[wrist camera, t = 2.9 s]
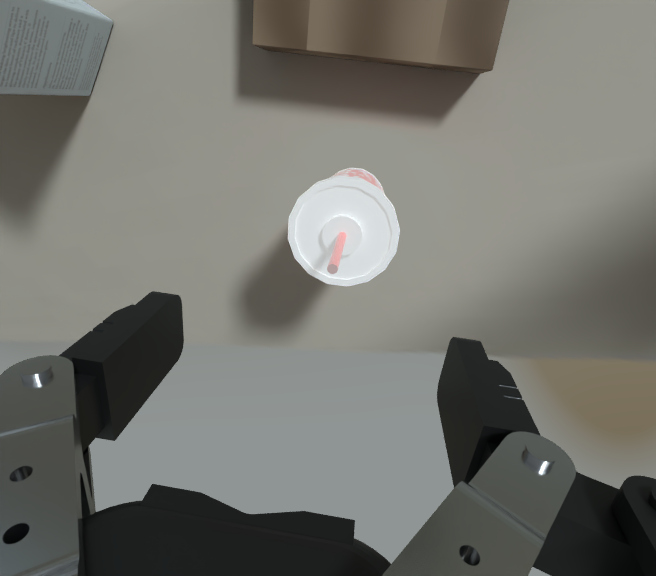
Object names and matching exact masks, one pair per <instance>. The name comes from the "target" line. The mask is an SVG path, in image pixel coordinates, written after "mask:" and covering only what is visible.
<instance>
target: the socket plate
mask: <svg viewBox="0 0 656 576" xmlns="http://www.w3.org/2000/svg"><path fill="white" fill-rule="evenodd" d="M508 4H509V0H254V2H253V45H256V46H258V47H260V48H262V49H264V50H269V51H278V52H287V53H296V54H305V55H315V56H324V57H333V58H342V59H351V60H360V61H370V62H379V63H388V64H397V65H406V66H415V67H425V68H434V69H443V70H452V71H461V72H470V73H480V74H481V73H484V72H488V71H491V70H492V69H493V65H494V61H495V57H496V53H497V49H498V45H499V41H500V36H501V32H502V28H503V24H504V20H505V16H506V12H507V8H508Z"/></svg>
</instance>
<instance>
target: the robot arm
mask: <svg viewBox="0 0 656 576" xmlns="http://www.w3.org/2000/svg"><path fill="white" fill-rule="evenodd" d="M183 342H184V337H183V318H182V302H181V298H180V296H179V295H174V294H168V293H161V292H154V291H153V292H151V293H149V294H148V295H147V296H146V297H144V298H143V299H142V300H141V301H139V302H138V303H137V304H136V305H130V306H128V307H125V308H123V309H120V310H118V311H116V312H114V313H113V314H111V315H110V316H109V317H108V318H106V319H105V320H104V321H103V323H100V324H99V325H97V326H96V327H95V328H94V329H93V331H90V332H88V333H87V334H86V335H85V336H83V337H82V338H81V339H80V340H78V341H77V342H76V343H74V344H73V345H72V346H71V347H69V348H68V349H67V350H66V351H64V352H63V353H62V354H60V355H59V356H52V355H49V356H39V357H34V358H30V359H27V360H24V361H21V362H19V363H17V364H15V365H13V366H11V367H9V368H8V369H7V370H6V371H4V372H3V373H2V374H1V375H0V576H528V574H529V572H530V570H531V568H532V567H535V568H537V569H539V570H541V571H543V572H545V573H547V574H549V575H551V576H656V479H653V478H649V477H645V476H631V477H629V478H627V479H626V480H625V481H624V482H623V484H622V486H621V487H620V489H617V488H614V487H612V486H609V485H607V484H604V483H602V482H599V481H597V480H594V479H592V478H589V477H587V476H584V475H582V474H580V473H578V472H576V470H575V466H574V464H573V462H572V460H571V458H570V457H569V456H568V455H567V454H566V452H565V451H563V450H562V449H561V448H560V447H559V446H557V445H556V444H555V443H553V442H552V441H550V440H548V439H546V438H544V437H542V436H540V433H539V431H538V429H537V427H536V425H535V423H534V421H533V419H532V417H531V415H530V413H529V411H528V409H527V407H526V405H525V402H524V401H523V400H522V396H521V394H520V392H519V390H518V389H516V388H517V386H516V384H515V382H514V380H513V378H512V376H511V374H510V373H509V372H508V371H507V370H506V369H505V368H504V367H503V366H502V365H501V364H500V363H499V362H498V361H493V360H488V357H487V355H486V353H485V350H484V348H483V346H482V343H481V342H480V341H477V340H470V339H463V338H457V337H453V338H452V339H451V340H450V343H449V346H448V350H447V354H446V357H445V361H444V365H443V368H442V372H441V375H440V380H439V383H438V391H437V401H438V407H439V412H440V418H441V423H442V428H443V433H444V438H445V443H446V449H447V453H448V458H449V464H450V469H451V474H452V480H453V485H454V489H453V490H452V492H451V493H450V494H449V495H448V496H447V498H446V499H445V500H444V501H443V502H442V504H441V505H440V506H439V507H438V509H437V510H436V511H435V512H434V513H433V514H432V516H431V517H430V518H429V519H428V521H427V522H426V523H425V524H424V525H423V527H422V528H421V529H420V530H419V532H418V533H417V534H416V535H415V536H414V537H413V539H412V540H411V541H410V542H409V544H408V545H407V546H406V547H405V548H404V550H403V551H402V552H401V553H400V554H399V556H398V557H397V558H396V559H395V560H394V562H393V563H392V564H390V562H388V560H386V559H385V558H384V557H383V556H382V555H380V554H379V553H378V552H376V551H375V550H374V549H373V548H371V547H369V546H368V545H366V544H364V543H363V542H361V541H359V540H357V539H354V524H355V520H350V519H345V518H339V517H334V516H328V515H323V514H317V513H311V512H306V511H300V512H284V513H283V512H282V513H267V514H246V513H243V512H241V511H239V510H237V509H235V508H232V507H230V506H228V505H226V504H224V503H222V502H220V501H218V500H216V499H213V498H211V497H209V496H207V495H205V494H203V493H200V492H195V491H189V490H184V489H178V488H172V487H167V486H161V485H156V484H152V485H151V487H150V489H149V490H148V492H147V494H146V495H145V497H144V499H143V500H142V501H135V502H129V503H124V504H120V505H117V506H113V507H109V508H107V509H104V510H102V511H99V512H96V511H95V501H94V489H93V478H92V467H91V455H90V449H89V445H90V444H91V442H92V441H93V440H94V439H95V438H101V439H107V440H113V441H115V440H116V438H117V437H118V436H119V435H120V433H121V432H122V431H123V430H124V428H125V427H126V426H127V425H128V423H129V422H130V421H131V419H132V418H133V417H134V416H135V414H136V413H137V412H138V411H139V409H140V408H141V407H142V405H143V404H144V403H145V401H146V400H147V399H148V398H149V396H150V395H151V394H152V393H153V391H154V390H155V389H156V388H157V386H158V385H159V384H160V383H161V381H162V380H163V379H164V377H165V376H166V375H167V373H168V372H169V371H170V370H171V369H172V367H173V366H174V364H175V363H176V362H177V361H178V359H179V357H180V355H181V352H182V349H183Z"/></svg>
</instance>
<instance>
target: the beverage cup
mask: <svg viewBox="0 0 656 576" xmlns="http://www.w3.org/2000/svg"><path fill="white" fill-rule="evenodd" d="M399 233H400V228H399V224H398V220H397V216H396V212H395V208H394V206H393V205H392V203H391V202H390V201H389V199H388V198H387V197H386V196H385V194H384V191H383V188H382V185H381V184H380V183H379V181H378V180H377V179H376V177H375V176H374V175H373V174H371V173H369V172H367V171H366V170H364V169H358V168H348V169H345V170H341V171H338V172H337V173H336V174H334V175H333V176H332V177H331V178H328V179H325V180H322V181H318V182H317V183H315V184H314V185H313V186H312V187H311V188H309V189H308V190H307V191H306V192H305V193H304V194H302V195H301V196H300V197H299V198H298V200H297V202H296V204H295V206H294V208H293V210H292V212H291V214H290V216H289V223H288V241H289V244H290V246H291V249H292V252H293V255H294V257H295V259H296V260H297V261H298V263H299V264H300V265H301V266H302V267H303V268H304V269H305V270H306V272H307V273H308V274H310V275H311V276H313V277H315V278H317V279H319V280H321V281H323V282H325V283H327V284H333V285H341V286H351V285H356V284H360V283H364V282H368V281H369V280H371V279H372V278H374V277H375V276H377V275H378V274H380V273H381V272H382V271H384V270H385V269H386V267H387V266H388V264H389V263H390V261H391V260H392V258H393V256H394V255H395V253H396V251H397V245H398V239H399Z"/></svg>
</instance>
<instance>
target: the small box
mask: <svg viewBox="0 0 656 576" xmlns="http://www.w3.org/2000/svg"><path fill="white" fill-rule="evenodd" d="M112 25H113V21H112V20H111V19H110V18H108V17H107V16H105V15H104V14H102V13H101V12H99V11H98V10H96V9H95V8H93V7H92V6H90V5H89V4H87V3H86V2H84V1H83V0H0V94H8V95H64V96H89V95H90V94H91V91H92V88H93V85H94V82H95V79H96V75H97V72H98V69H99V66H100V63H101V60H102V57H103V53H104V50H105V47H106V44H107V41H108V38H109V34H110V31H111V28H112Z"/></svg>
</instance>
